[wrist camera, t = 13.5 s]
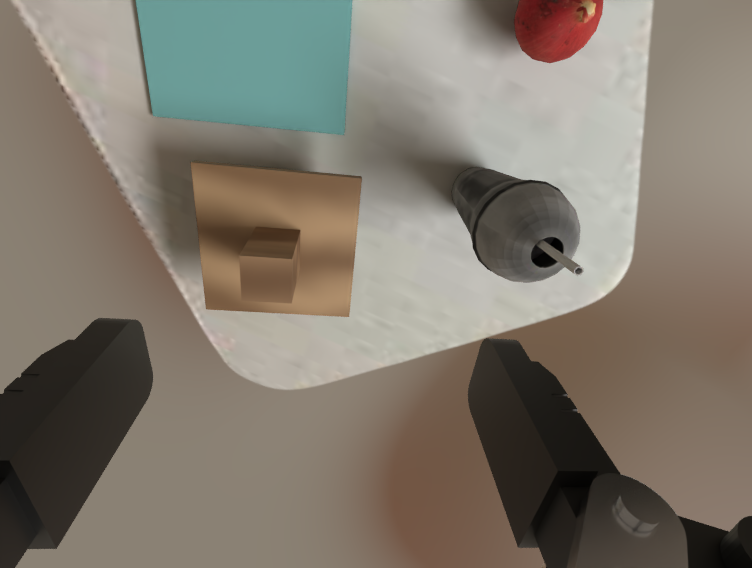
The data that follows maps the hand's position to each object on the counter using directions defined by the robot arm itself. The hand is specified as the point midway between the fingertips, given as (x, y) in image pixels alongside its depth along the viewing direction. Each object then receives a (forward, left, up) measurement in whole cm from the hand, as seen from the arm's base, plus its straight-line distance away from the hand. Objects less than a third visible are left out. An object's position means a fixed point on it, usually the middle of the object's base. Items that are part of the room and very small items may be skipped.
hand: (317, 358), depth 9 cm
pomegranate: (-12, +16, -30) cm, 36 cm away
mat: (-10, -7, -30) cm, 32 cm away
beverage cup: (+2, +14, -30) cm, 33 cm away
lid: (+7, -4, -24) cm, 26 cm away
